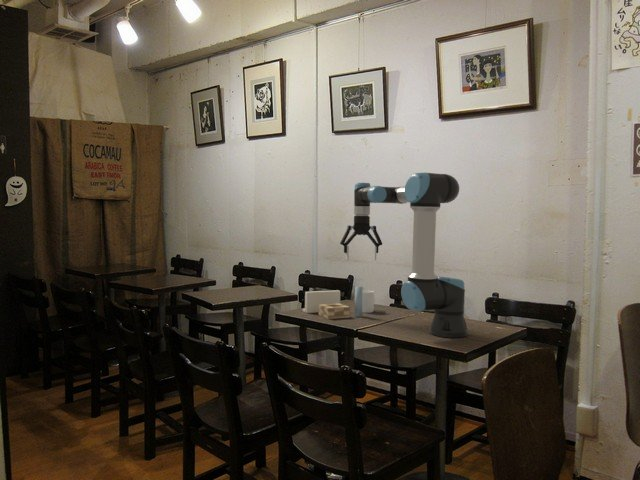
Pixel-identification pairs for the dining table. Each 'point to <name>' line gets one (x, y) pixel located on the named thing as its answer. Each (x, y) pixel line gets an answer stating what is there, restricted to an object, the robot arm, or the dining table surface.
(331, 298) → the panel
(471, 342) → the dining table surface
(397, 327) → the dining table surface
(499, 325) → the dining table surface
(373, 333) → the dining table surface
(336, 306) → the block
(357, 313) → the dowel
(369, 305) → the cup
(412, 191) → the robot arm
